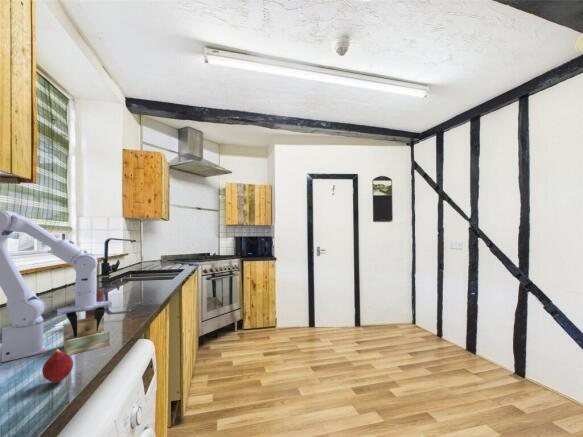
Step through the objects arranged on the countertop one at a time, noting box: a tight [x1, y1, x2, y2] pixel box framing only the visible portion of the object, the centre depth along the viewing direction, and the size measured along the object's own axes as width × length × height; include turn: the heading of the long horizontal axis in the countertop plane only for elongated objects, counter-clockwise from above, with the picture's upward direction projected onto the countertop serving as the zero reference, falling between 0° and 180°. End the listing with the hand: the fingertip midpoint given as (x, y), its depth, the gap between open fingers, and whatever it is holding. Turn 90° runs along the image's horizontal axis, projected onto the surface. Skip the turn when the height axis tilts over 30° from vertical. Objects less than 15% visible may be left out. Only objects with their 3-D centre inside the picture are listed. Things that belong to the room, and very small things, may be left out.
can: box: [84, 286, 105, 319], centre depth 116 cm, size 6×6×14 cm
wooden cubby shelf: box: [62, 316, 111, 356], centre depth 94 cm, size 11×10×7 cm
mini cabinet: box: [75, 317, 97, 338], centre depth 95 cm, size 5×6×6 cm
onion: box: [41, 348, 74, 384], centre depth 71 cm, size 6×6×8 cm
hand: (85, 333), depth 95 cm, fingers closed on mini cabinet, 5 cm apart
